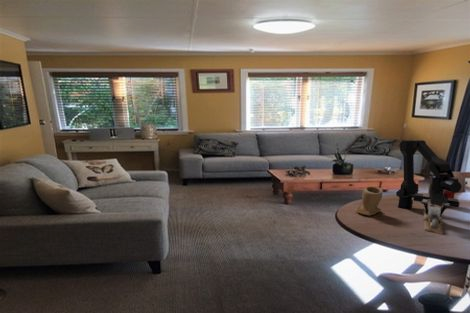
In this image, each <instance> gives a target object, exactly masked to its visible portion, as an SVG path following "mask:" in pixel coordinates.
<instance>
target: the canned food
mask: <svg viewBox="0 0 470 313" xmlns="http://www.w3.org/2000/svg"><path fill="white" fill-rule="evenodd" d="M455 194H456V193H452V192H449V191H446V190H444V196H448V199H449V198H453V199H455ZM437 206H438V207H440V206H439V205H437ZM451 208H452V207H451V206H450V209H451Z"/></svg>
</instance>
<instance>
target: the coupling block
mask: <svg viewBox="0 0 470 313" xmlns="http://www.w3.org/2000/svg"><path fill="white" fill-rule="evenodd" d="M440 212H441V207H437V206H435V207H431V206H430V205H428V215H427V218H428V219H431V218H432V217H437V218H438V219H440Z"/></svg>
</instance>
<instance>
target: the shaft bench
mask: <svg viewBox="0 0 470 313" xmlns="http://www.w3.org/2000/svg"><path fill="white" fill-rule="evenodd" d="M429 206H431V207H436V205H432V204H430V205H429ZM423 225H424V226H423V227H424V228H423V229H424V231H425V232H429V233H435V234H440V235H444V229H443V218H442V216H441V217H440V219H438V218H437V217H432V218H431V219H428V218H427V214H426V210H425V209H424V210H423Z"/></svg>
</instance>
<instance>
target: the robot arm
mask: <svg viewBox="0 0 470 313" xmlns="http://www.w3.org/2000/svg"><path fill="white" fill-rule="evenodd" d="M417 151H418V153H420V154H421V156H422V157H423V158H424V160H426V162H427V163H428V165H427V166H428V168H429V170H430V171H431V172H430V173H429V174H428V176H429V177H431V181H430V187H429V195H428V196H425V195H424V193H419V191H420V190H419V184H418V183H416V182H415V170H414V168H415V166H414V165H415V163H414V162H415V161H414V157H415V155H416V152H417ZM399 152H400V153H401V154H402V155H403V159H402V160H403V180H402V182H401V184H400V188H399V189H398V191H396V192H395V195H396V197H397V198H398V205H397V208H400V209H407V210H412V208H413V202H420V204H422V205H423V206H424V210H425V211H426V214H427V215H428V206H429V205H428V204H429V203H430V205H434V206H438V205H439V206H438V207H440V210H441V212H440V217H441V218H442V215H443V213H444V212H445V210H447V209H449V208H450V206H451V208H460V204H461V203H460V201H459V199H458V198H454V199H453V198H449V199H448V196H444V190H446V191H449V192H452V193H455V194H457V193H460V191H461V190H462V184H461V182H459V179H458V178H455V175H454V173H453V170H452V168H451V165H450V163H449V162H447V161H446V160H444V159H443V158H440V157H439V156H438V155H437V154H436V153H435V152H434V151H433V150H432V148H430V146H429V145H428V144H427V142H426V140H422V139H421V140H420V139H417V140H414V139H402V140H401V141H400V142H399ZM429 201H430V202H429ZM451 208H450V209H451Z"/></svg>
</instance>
